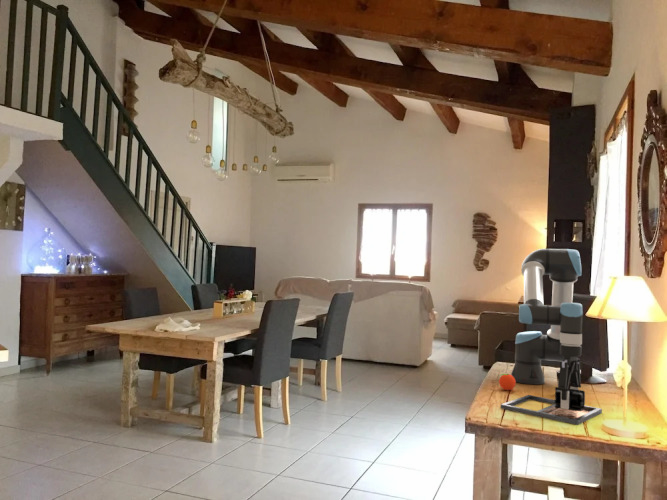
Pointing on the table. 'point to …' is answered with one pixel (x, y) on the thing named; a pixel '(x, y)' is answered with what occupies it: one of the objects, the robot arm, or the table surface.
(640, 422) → the table surface
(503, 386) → the clementine
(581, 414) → the divided grey frame
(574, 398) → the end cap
